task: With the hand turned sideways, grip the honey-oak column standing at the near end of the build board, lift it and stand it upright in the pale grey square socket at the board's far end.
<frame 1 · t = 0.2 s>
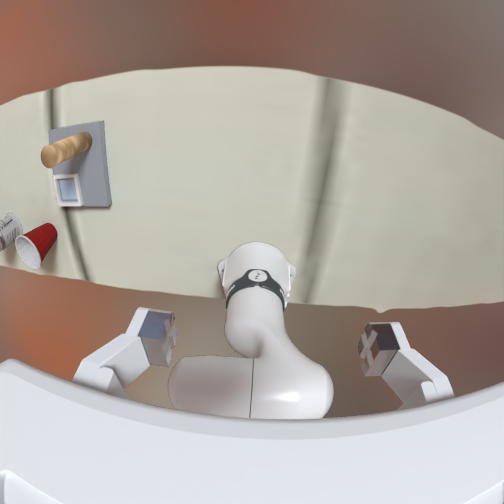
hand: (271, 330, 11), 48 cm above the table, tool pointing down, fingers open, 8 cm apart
oak column: (84, 141, 50), point 2 cm above the table, touching build board
french press: (14, 223, 64), on the table
plastic cup: (50, 231, 65), on the table
build board: (80, 164, 55), on the table
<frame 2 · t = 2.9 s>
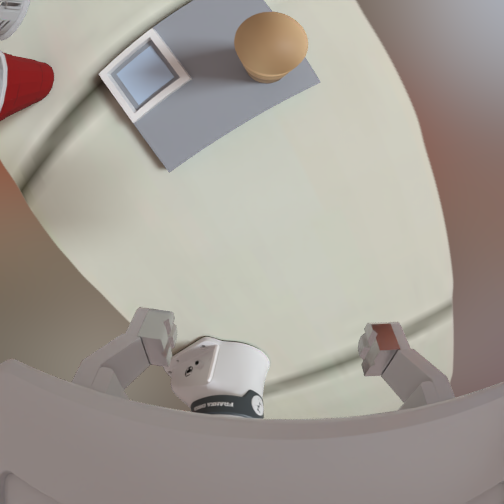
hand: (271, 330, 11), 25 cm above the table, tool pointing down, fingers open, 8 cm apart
oak column: (266, 64, 24), point 2 cm above the table, touching build board
french press: (15, 12, 17), on the table
plastic cup: (40, 81, 25), on the table
build board: (204, 69, 26), on the table
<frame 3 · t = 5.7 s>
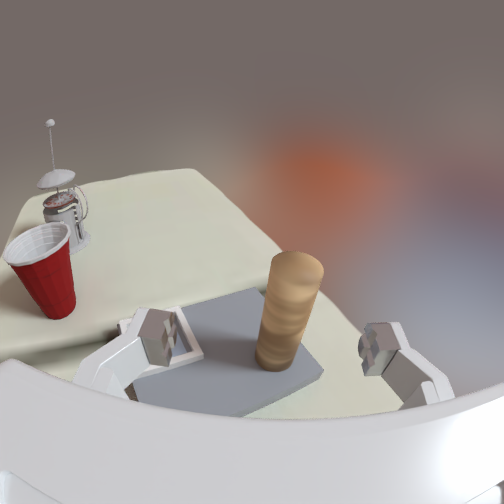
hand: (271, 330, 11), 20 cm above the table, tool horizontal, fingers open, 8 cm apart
oak column: (274, 356, 31), point 2 cm above the table, touching build board
french press: (72, 243, 48), on the table
plastic cup: (60, 306, 34), on the table
build board: (213, 360, 32), on the table
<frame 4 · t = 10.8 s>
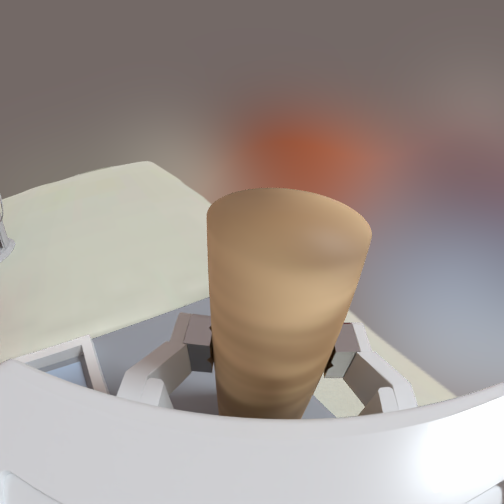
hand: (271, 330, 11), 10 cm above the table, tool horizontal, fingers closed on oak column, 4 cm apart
oak column: (257, 421, 14), point 2 cm above the table, touching build board, gripper
build board: (150, 429, 15), on the table
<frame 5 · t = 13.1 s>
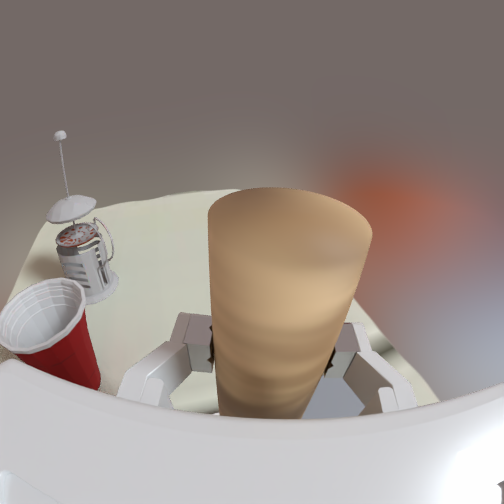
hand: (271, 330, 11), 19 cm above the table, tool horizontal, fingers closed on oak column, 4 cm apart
oak column: (258, 420, 14), point 11 cm above the table, touching gripper
french press: (95, 287, 40), on the table
plastic cup: (80, 380, 26), on the table
build board: (289, 471, 20), on the table
when the fingers open (11 cm above the table, at t = 15.7 s): oak column drops 1 cm, resting on build board.
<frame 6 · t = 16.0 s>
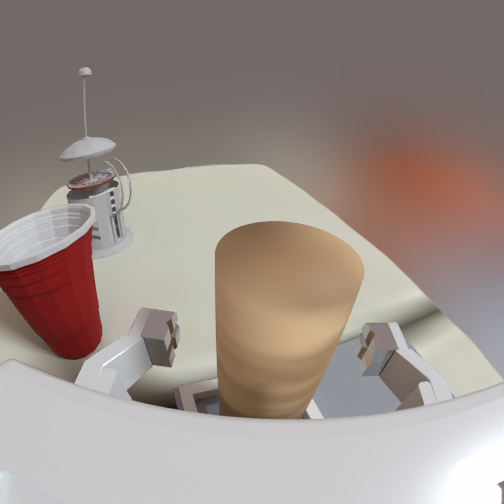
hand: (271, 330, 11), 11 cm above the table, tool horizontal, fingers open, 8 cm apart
oak column: (256, 428, 15), point 2 cm above the table, touching build board
french press: (106, 242, 37), on the table
plastic cup: (77, 337, 22), on the table
build board: (343, 449, 15), on the table
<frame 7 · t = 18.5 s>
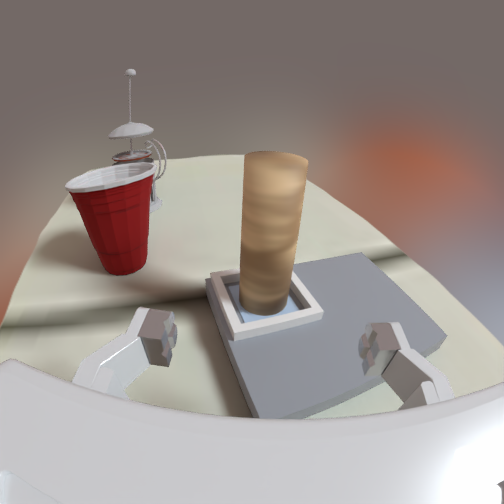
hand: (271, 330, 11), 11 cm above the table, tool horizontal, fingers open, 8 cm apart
oak column: (263, 298, 26), point 2 cm above the table, touching build board
french press: (140, 206, 48), on the table
plastic cup: (125, 262, 33), on the table
build board: (326, 326, 26), on the table
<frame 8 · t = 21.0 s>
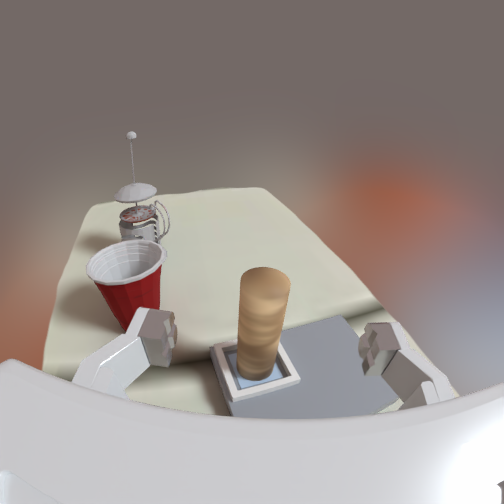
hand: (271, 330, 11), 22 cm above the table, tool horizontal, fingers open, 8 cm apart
oak column: (254, 365, 32), point 2 cm above the table, touching build board
french press: (147, 258, 54), on the table
plastic cup: (140, 323, 39), on the table
build board: (304, 384, 32), on the table
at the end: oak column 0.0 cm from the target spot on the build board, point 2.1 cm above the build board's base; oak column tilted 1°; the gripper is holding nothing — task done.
